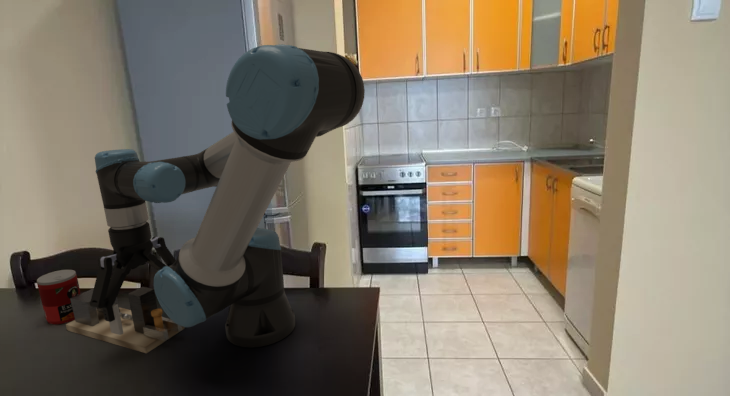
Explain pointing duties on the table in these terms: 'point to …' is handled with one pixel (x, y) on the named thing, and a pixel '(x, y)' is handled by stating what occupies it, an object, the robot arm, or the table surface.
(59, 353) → the table surface
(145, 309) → the two-pronged fork block
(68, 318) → the canned food
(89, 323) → the block
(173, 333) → the rail board
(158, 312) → the keeper post
